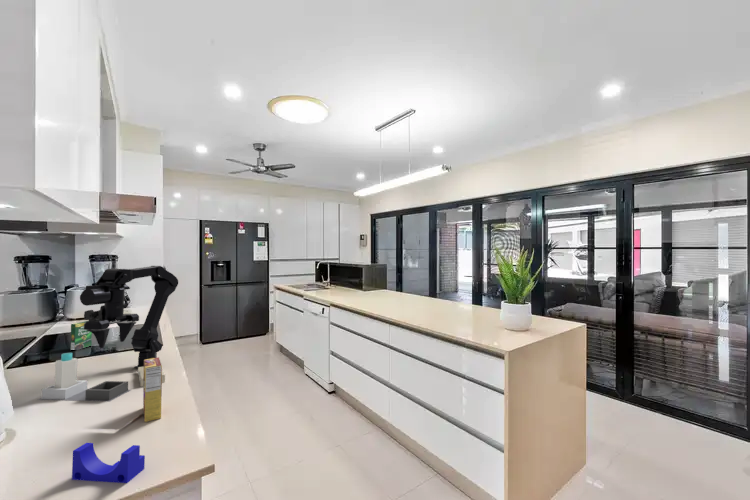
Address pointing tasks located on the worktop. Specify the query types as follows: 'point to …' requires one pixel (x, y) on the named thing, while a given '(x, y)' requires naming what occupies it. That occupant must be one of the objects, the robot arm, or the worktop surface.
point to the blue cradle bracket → (106, 465)
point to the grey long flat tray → (86, 391)
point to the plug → (66, 371)
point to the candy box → (152, 389)
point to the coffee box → (80, 336)
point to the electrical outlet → (141, 375)
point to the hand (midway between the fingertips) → (112, 344)
